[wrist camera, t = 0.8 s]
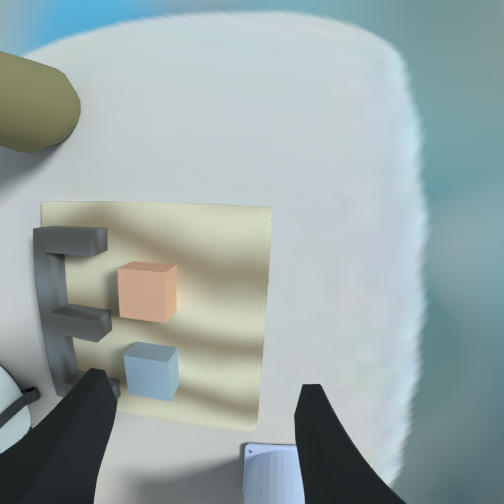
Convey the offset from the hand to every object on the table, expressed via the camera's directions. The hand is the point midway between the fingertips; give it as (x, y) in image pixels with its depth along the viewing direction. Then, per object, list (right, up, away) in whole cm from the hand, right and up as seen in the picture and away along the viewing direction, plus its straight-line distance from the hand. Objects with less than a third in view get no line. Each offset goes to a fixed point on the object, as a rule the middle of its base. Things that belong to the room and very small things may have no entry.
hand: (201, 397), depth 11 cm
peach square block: (-6, +2, +16) cm, 17 cm away
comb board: (-8, -1, +17) cm, 19 cm away
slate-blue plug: (-7, -5, +17) cm, 19 cm away
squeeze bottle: (-17, +18, +15) cm, 29 cm away
